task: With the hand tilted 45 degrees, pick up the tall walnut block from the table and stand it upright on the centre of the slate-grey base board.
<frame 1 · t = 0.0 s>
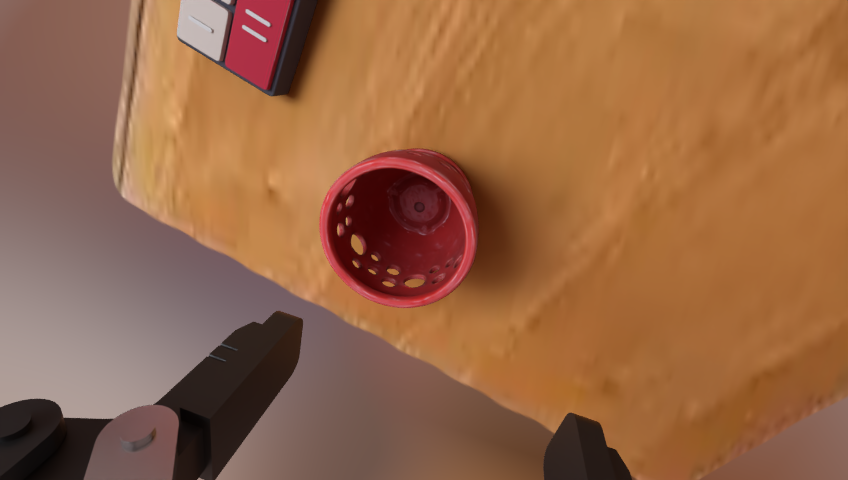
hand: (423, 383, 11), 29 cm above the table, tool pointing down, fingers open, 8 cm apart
plant pot: (424, 196, 40), on the table
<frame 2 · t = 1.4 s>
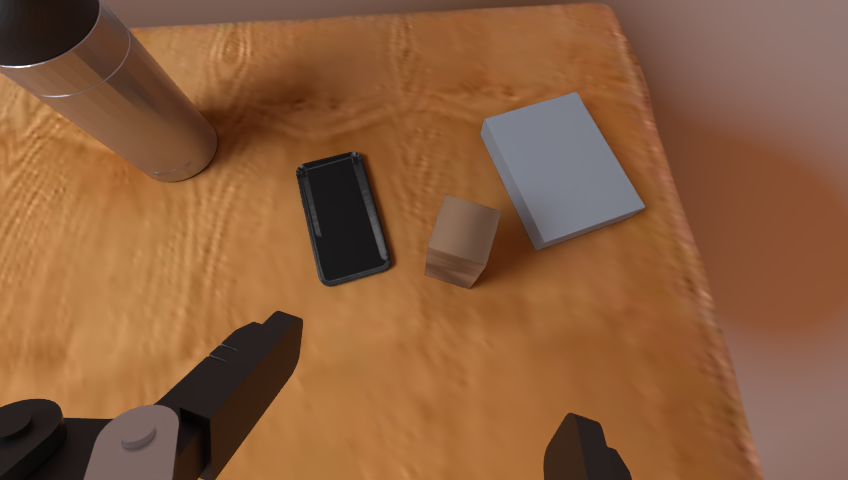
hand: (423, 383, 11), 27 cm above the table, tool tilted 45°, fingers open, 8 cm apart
walnut block: (453, 260, 40), on the table
phone: (343, 218, 42), on the table
base board: (552, 174, 43), on the table
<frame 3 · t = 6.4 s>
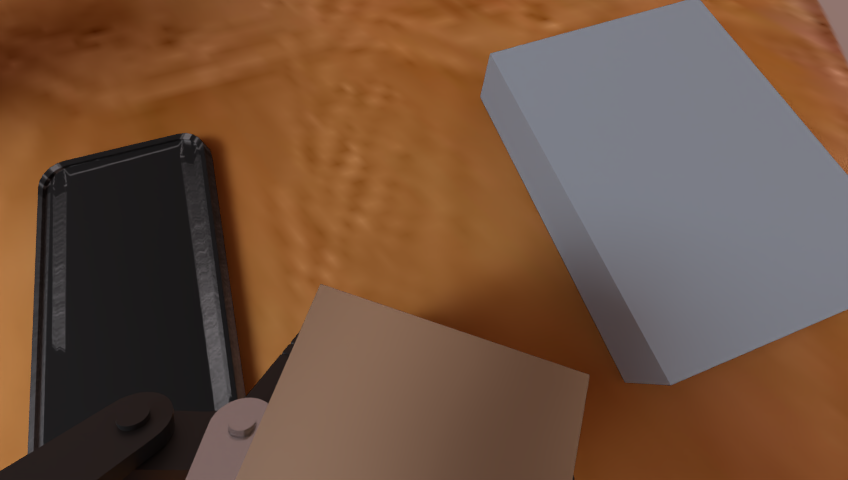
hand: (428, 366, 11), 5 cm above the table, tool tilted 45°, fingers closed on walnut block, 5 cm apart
walnut block: (412, 411, 15), on the table, touching gripper
phone: (148, 293, 17), on the table
base board: (646, 184, 19), on the table
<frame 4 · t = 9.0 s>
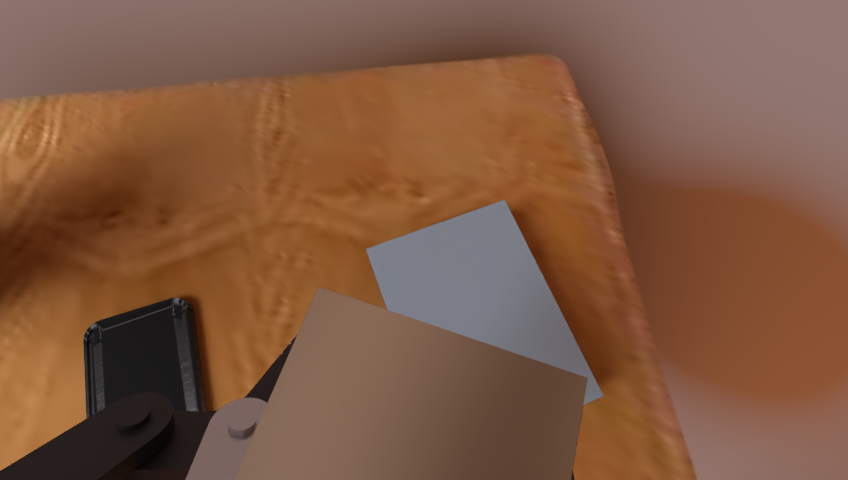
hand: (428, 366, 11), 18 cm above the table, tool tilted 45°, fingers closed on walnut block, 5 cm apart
walnut block: (411, 413, 15), point 13 cm above the table, touching gripper
phone: (154, 406, 28), on the table
base board: (471, 322, 30), on the table
when the fingers open (9 cm above the table, at t = 12.0 s): walnut block drops 1 cm, resting on base board.
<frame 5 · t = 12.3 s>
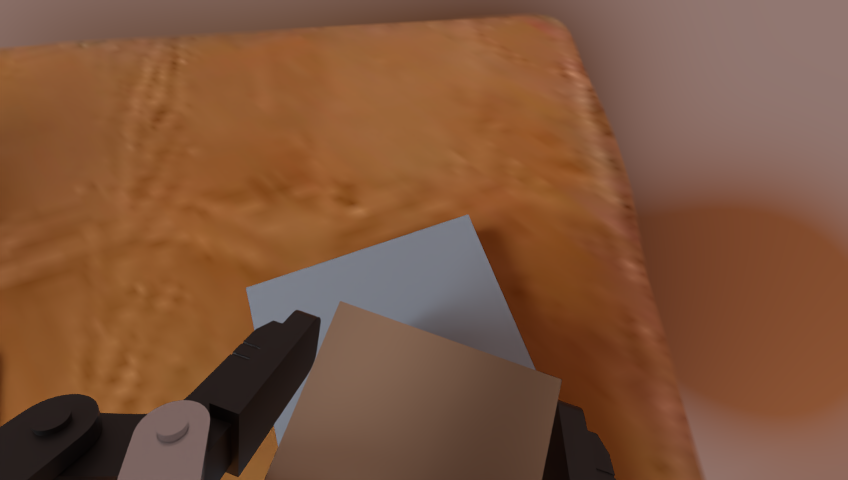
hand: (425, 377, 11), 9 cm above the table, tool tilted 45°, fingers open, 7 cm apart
walnut block: (413, 409, 16), point 3 cm above the table, touching base board
base board: (413, 402, 19), on the table
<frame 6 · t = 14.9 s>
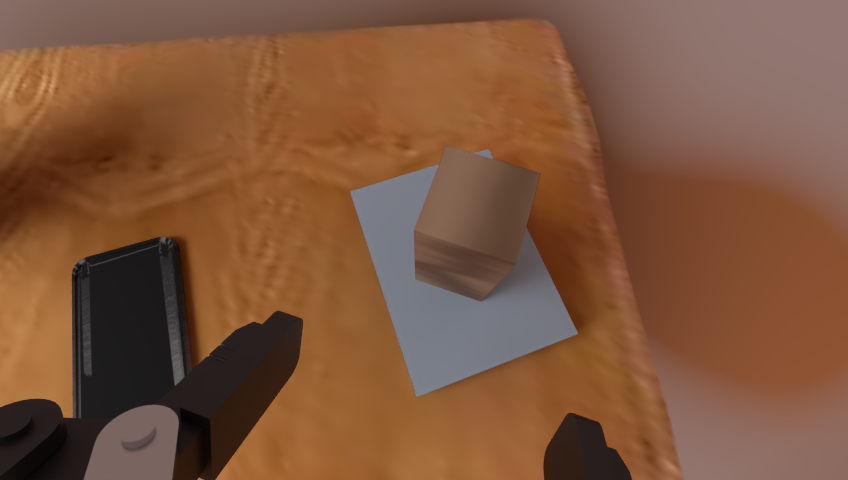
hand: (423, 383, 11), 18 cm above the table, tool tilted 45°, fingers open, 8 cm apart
walnut block: (457, 259, 27), point 3 cm above the table, touching base board
phone: (139, 339, 28), on the table
base board: (453, 268, 30), on the table
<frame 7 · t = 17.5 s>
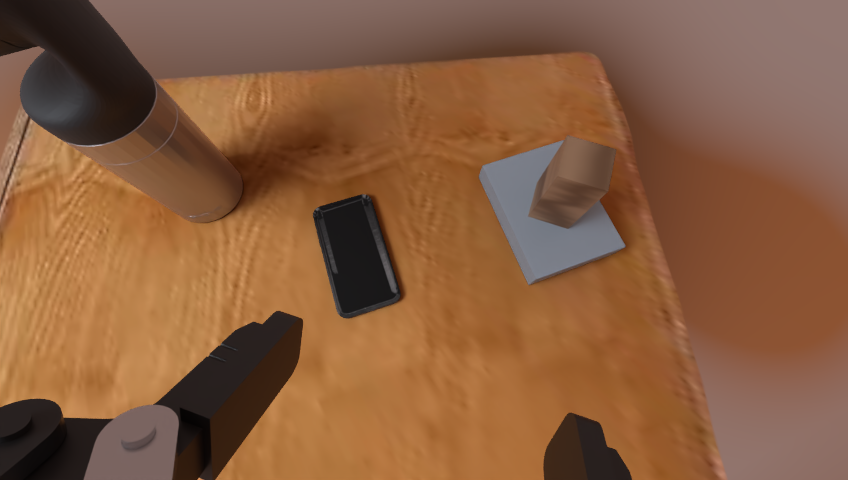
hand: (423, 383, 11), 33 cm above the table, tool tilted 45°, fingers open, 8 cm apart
walnut block: (552, 205, 45), point 3 cm above the table, touching base board
phone: (356, 255, 46), on the table
base board: (543, 214, 48), on the table
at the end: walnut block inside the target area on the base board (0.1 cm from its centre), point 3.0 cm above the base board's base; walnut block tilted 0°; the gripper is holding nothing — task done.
